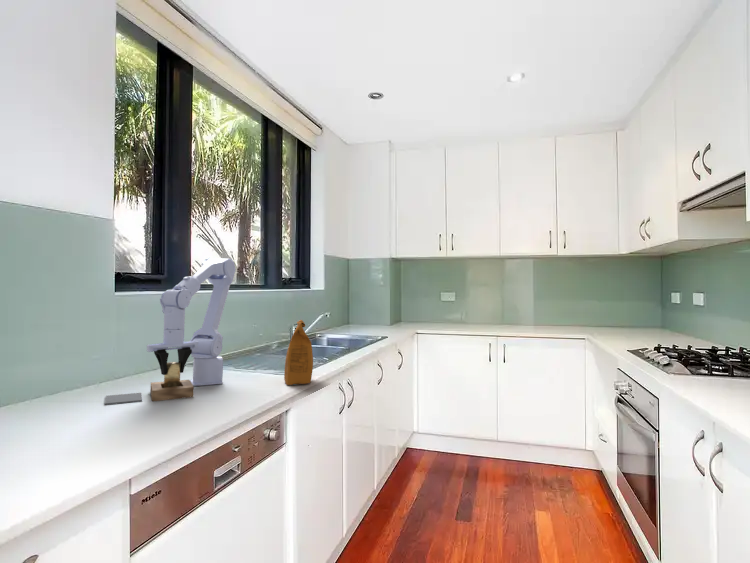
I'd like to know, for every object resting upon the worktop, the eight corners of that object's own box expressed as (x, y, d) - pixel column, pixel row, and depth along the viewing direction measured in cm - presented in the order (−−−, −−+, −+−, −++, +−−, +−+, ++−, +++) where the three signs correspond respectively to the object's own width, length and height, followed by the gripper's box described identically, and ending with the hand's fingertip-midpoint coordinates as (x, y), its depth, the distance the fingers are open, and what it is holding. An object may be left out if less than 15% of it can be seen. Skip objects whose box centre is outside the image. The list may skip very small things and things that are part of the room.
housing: (188, 388, 135) (189, 379, 135) (193, 397, 125) (193, 387, 125) (150, 392, 129) (150, 382, 129) (152, 401, 120) (152, 390, 120)
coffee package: (312, 378, 156) (314, 319, 156) (312, 386, 144) (314, 322, 144) (285, 378, 154) (287, 319, 155) (283, 386, 142) (285, 322, 142)
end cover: (179, 383, 130) (179, 361, 130) (180, 387, 126) (181, 363, 127) (163, 385, 128) (164, 361, 128) (164, 388, 124) (165, 364, 124)
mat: (141, 393, 127) (141, 392, 127) (141, 401, 119) (142, 399, 119) (106, 397, 122) (106, 395, 122) (104, 405, 115) (104, 403, 115)
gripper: (191, 326, 136) (190, 368, 135) (143, 328, 125) (141, 374, 125) (201, 328, 131) (200, 371, 131) (152, 331, 120) (150, 378, 120)
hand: (172, 373), depth 127 cm, fingers closed on end cover, 4 cm apart
